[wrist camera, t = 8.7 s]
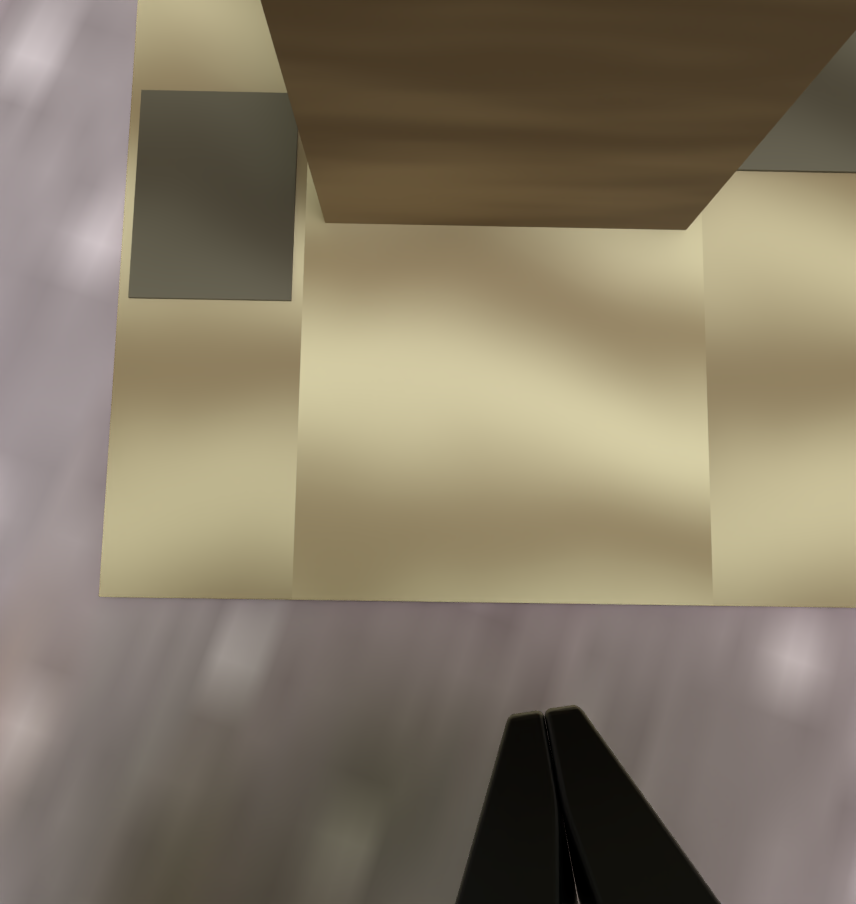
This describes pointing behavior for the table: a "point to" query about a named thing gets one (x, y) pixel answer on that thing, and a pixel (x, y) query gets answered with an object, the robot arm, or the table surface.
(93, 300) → the table surface
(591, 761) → the robot arm
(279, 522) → the board
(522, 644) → the table surface
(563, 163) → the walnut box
